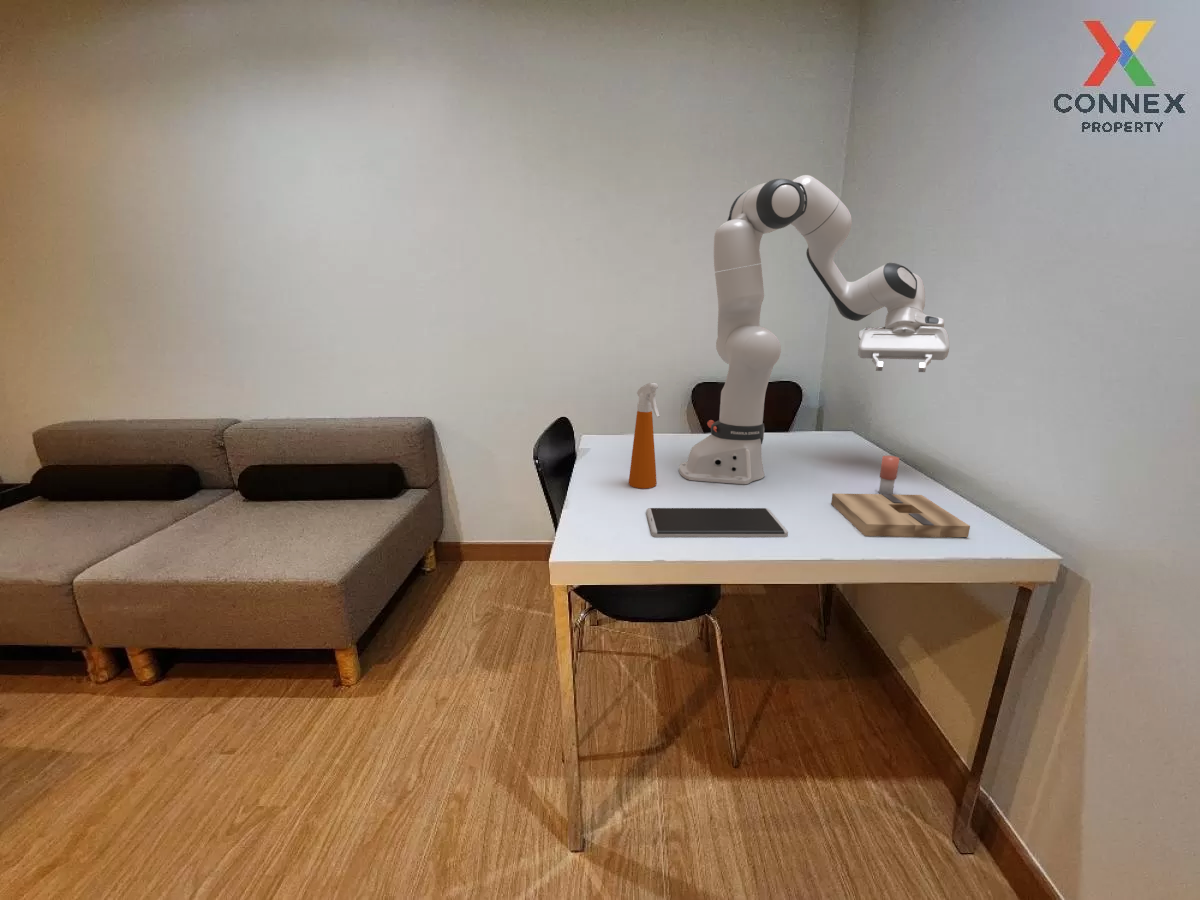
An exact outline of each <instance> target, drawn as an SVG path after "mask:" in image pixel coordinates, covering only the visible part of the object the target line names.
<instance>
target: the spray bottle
mask: <svg viewBox="0 0 1200 900" xmlns="http://www.w3.org/2000/svg"><path fill="white" fill-rule="evenodd" d="M658 387H659V385H658V383H656V382H649V383H646V384H645V385H643V386H640V388H639V389H638V390H637V391H636V394H637V396H638V402H637V411H636V418H635V424H634V425H635V427H634V434H633V441H632V451H631V460H630V467H629V477H628V485H629V486H630V487H631V488H632V487H633V488H635V489H643V490H644V489H645V490H646V489H652V488H655V487H656V485H657V484H658V483H657V482H658V481H657V467H656V466H657V465H656V452H655V450H656V449H655V436H654V435H655V434H654V420H653V413H654V416H655V417H656V418H660V414H659V409H658V406H657V401H656V400H657V399H656V394H657V393H656V392H657V389H659V388H658Z"/></svg>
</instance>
